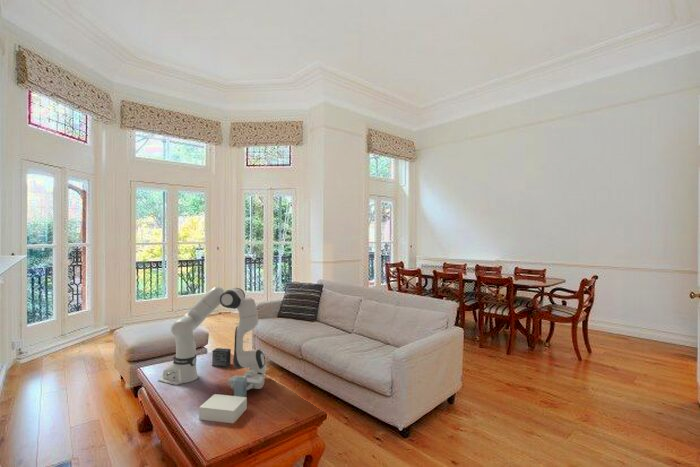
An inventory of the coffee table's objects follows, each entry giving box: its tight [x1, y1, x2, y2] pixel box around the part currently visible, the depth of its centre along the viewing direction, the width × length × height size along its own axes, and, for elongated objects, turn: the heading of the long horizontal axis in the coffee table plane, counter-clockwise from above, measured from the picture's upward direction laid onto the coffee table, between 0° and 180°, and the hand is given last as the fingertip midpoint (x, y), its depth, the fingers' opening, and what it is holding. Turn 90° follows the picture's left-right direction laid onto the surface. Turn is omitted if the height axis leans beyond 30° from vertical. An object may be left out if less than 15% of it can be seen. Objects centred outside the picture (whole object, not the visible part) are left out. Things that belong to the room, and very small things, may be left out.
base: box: [198, 393, 248, 424], centre depth 176 cm, size 18×14×6 cm
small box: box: [211, 347, 232, 368], centre depth 240 cm, size 11×6×10 cm, turn 84°
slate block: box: [233, 377, 248, 397], centre depth 194 cm, size 5×5×10 cm
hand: (239, 388), depth 193 cm, fingers open, 7 cm apart
